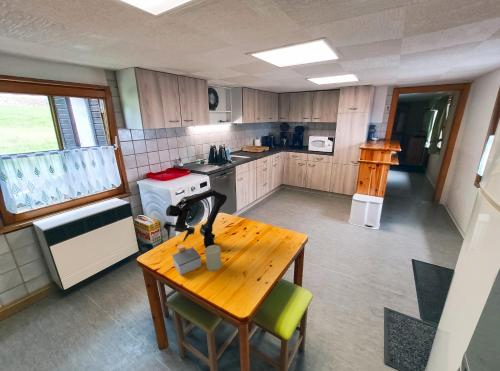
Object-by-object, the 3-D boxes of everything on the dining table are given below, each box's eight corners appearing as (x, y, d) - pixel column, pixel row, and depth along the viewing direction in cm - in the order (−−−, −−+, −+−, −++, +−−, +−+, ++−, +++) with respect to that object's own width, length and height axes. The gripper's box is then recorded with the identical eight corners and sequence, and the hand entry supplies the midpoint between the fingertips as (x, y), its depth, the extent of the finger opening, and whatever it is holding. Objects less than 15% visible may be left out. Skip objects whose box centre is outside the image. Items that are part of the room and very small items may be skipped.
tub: (193, 256, 142) (192, 248, 140) (201, 265, 133) (200, 257, 131) (173, 264, 134) (172, 256, 133) (180, 275, 125) (179, 266, 123)
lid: (190, 245, 143) (189, 241, 142) (200, 257, 131) (200, 253, 130) (170, 252, 136) (169, 248, 135) (179, 266, 123) (178, 262, 122)
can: (224, 262, 135) (222, 245, 132) (217, 272, 127) (215, 254, 123) (211, 259, 138) (209, 243, 134) (203, 268, 130) (201, 251, 126)
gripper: (165, 217, 126) (158, 242, 127) (197, 223, 131) (190, 248, 132) (168, 212, 137) (161, 235, 138) (197, 219, 142) (191, 241, 142)
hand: (176, 240), depth 137 cm, fingers open, 9 cm apart
